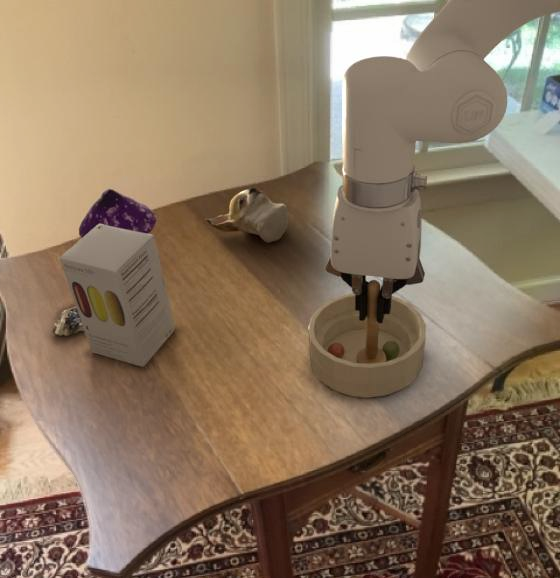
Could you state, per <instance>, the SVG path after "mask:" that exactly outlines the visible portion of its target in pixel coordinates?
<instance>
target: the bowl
mask: <svg viewBox="0 0 560 578" xmlns="http://www.w3.org/2000/svg"><path fill="white" fill-rule="evenodd" d="M307 330H308V331H307V332H308V350H309V351H308V353H309V362H310V365H311V369H312V372H313V373H314V375H315V376H316V377H317V378H318V380H319V381H320V382H321V383H323V385H324V384H325V385H326V386H327V387H328V388H330V389H332V390H333V391H335V392H339V393H341V394H344V395H348V396H351V397H361V398H374V397H383V396H387V395H391V394H393V393H396V392H399V391H401V390H403V389H405V388H406V387H407V386H409V385H410V384H411V383H413V381H415V380H416V379H417V377H418V375H419V373H420V371H421V370H422V368H423V362H424V353H425V344H426V331H427V324H426V322H425V320H424V318H423V316H422V314H421V313H420V312H419V311H418V310H417V309H416V307H414V306H413V305H412V304H411V303H409V302H407V301H405V300H403V299H402V298H400V297H397V296H393V295H392V299H391V310H390V314H389V315H388V314H385V315H384V319H383V322H382V323H379V330H378V348H379V349H381V350H382V347H383V345H384V344H385V343H386V342H388V341H394V342H396V343H397V344H398V345H399V348H400V352H399V354H398V356H397V357H395V358H392V359H390V358H387V357H386V362H381V363H373V364H364V363H356V358H357V353H358V352H359V351H360V350H362V349H364V348H366V319H365V320H364V321H360V320H359V311H357V310H355V294H354V293H353V292H352V293H346V294H342V295H340V296H336V297H333V298H331V299H330V300H328V301H327V302H325V303H324V304H322V305H321V306H319V307H318V308H317V310H316V311H315V312H314V313H313V315H312V316H311V317H310V321H309V325H308V329H307ZM333 343H340V344H341V345H342V346H343V347H344V349H345V354H344V356H343V357H342V358H341V359H340V358H337V357H335V356H333V355H332V354H330V353H329V352H327V350H328V347H329V346H330V345H331V344H333Z"/></svg>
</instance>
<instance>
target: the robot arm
mask: <svg viewBox="0 0 560 578" xmlns="http://www.w3.org/2000/svg"><path fill="white" fill-rule="evenodd" d="M555 13H560V0H448V1H447V2H446V4H445V5H444V6H443V7H442V8H441V9H440V10H439V11H438V12H437V14H436V15H435V16H434V17H433V19H431V21H430V22H429V23H428V24H427V25H426V27H424V29H423V30H422V31H421V32H420V34H419V35H418V37H417V38H416V40H414V42H413V44H412V46H411V47H410V49H409V51H408V53H407V55H406V57H405V58H402V57H397V56H391V55H389V56H387V55H381V56H372V57H367V58H363V59H360V60H357V61H355V62H353V64H351V65H349V67H348V68H347V69H346V71H345V72H344V75H343V77H342V87H341V103H342V105H341V107H342V108H341V114H342V116H341V119H342V122H341V123H342V127H341V128H342V184H341V185H340V186H339V187H338V190H337V193H336V198H335V203H334V207H333V208H334V209H333V216H332V225H331V237H330V256H329V259H328V260H327V263H326V266H325V269H324V270H325V271H326V272H327V273H329V274H331V275H333V276H335V277H338V278H341V280H342V281H343V282H344V283H346V285H348V287H350V288H351V292H352V293H354V294H355V310H357V311H359V320H360V321H364V320H365V319H366V316H367V285H368V283H369V281H367V277H375V278H382V284H381V285H380V293H379V295H378V299H377V322H378V323H382V322H383V319H384V315H385V314H388V315H389V314H390V310H391V299H392V296H393V294H395V293H397V292H398V291H400V290H401V289H402V288H405V286H411V285H412V286H413V285H417V284H422V283H423V282H424V280H425V275H426V274H425V273H426V272H425V270H424V267H423V264H422V261H421V259H420V257H421V249H422V222H423V221H422V204H421V196H420V195H421V194H420V192H419V190H420V189H421V190H426V188H427V182H428V175H421V174H419V173H418V171H417V170H416V164H415V159H416V158H415V157H416V145H417V142H429V143H440V144H441V143H442V144H464V143H465V144H466V143H471V142H475V141H478V140H480V139H483V138H485V137H486V136H487V135H489V134H491V133H492V132H493V131H494V130H495V129H496V128H497V127H498V126H499V125H500V123H502V120H503V119H504V117H505V114H506V112H507V108H508V90H507V88H506V85H505V82H504V81H503V79H502V77H501V76H500V75H499V74H498V73H497V71H496V70H495V69H494V68H493V67H492V66H491V65H490V64H489V63H488V62H486V61H485V59H486V57H488V55H489V54H491V52H492V51H493V50H494V49H496V47H497V46H498V45H500V43H501V42H502V41H504V40H505V39H506V38H507V37H509V36H510V35H511V34H512V33H514V32H515V31H517V30H518V29H519V28H521V27H523V26H525V25H526V24H528V23H530V22H533V21H534V20H536V19H539V18H542V17H545V16H548V15H551V14H555Z"/></svg>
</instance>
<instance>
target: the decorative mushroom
mask: <svg viewBox="0 0 560 578" xmlns="http://www.w3.org/2000/svg"><path fill="white" fill-rule="evenodd" d="M156 223H157V217H156V213H155V212H154V211H153V210H152V209H151V208H150V207H148V205H146V204H143V203H141V202H139V201H137V200H135V199H134V198H131V197H130V196H128V195H125V194H122V193H120V192H119V191H116V190H114V189H112V188H108V189H105V190H104V191H103V192H102V193H101V196H100V197H99V198H98V199H97V200H96V201H95V202H94V203H93V204H92V206H91V207H90V208H89V210H87V213H86V214H85V216H84V218H83V219H82V221H81V223H80V224H79V227H78V235H79V237H80V239H82V238H83V237H84V236H85V235H86V234H87V233H88V232H90V231H91V230H92V229H93V228H94V227H96V226H97V225H98V224H104V225H108V226H112V227H117V228H121V229H126V230H131V231H136V232H141V233H147V234H151V232H152V231H153V229H154V228H155V226H156Z"/></svg>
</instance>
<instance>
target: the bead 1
mask: <svg viewBox="0 0 560 578" xmlns="http://www.w3.org/2000/svg"><path fill="white" fill-rule="evenodd" d="M327 352H329V353H330V354H332V355H333V356H335V357H337V358H340V359H341V358H342V357H343V356H344V354H345V349H344V347H343V346H342V345H341V344H340V343H333V344H331V345H330V346H329V347H328V350H327Z"/></svg>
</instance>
